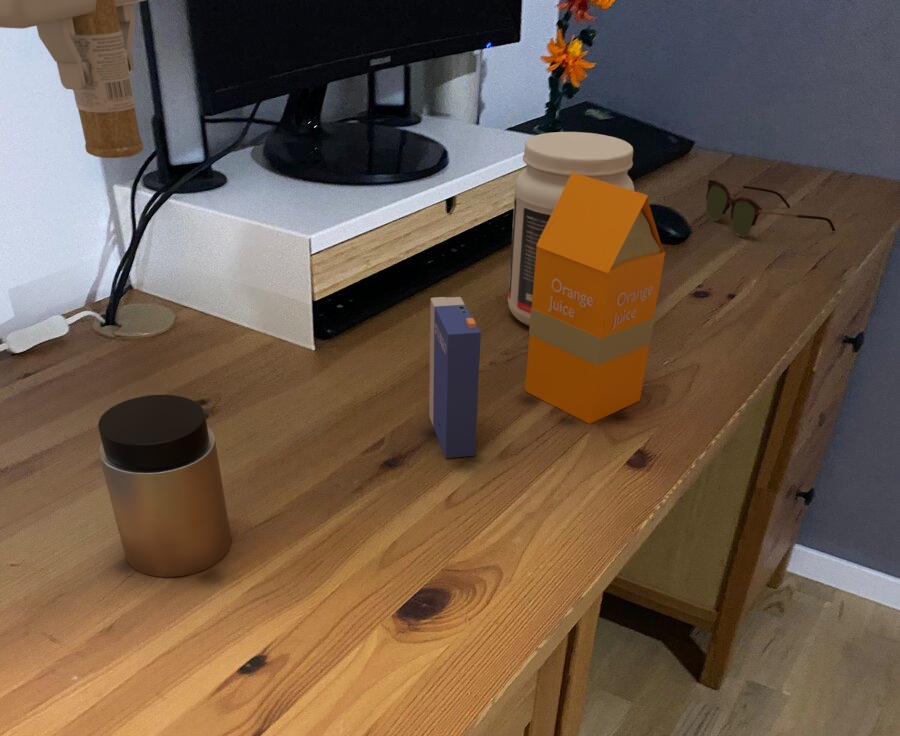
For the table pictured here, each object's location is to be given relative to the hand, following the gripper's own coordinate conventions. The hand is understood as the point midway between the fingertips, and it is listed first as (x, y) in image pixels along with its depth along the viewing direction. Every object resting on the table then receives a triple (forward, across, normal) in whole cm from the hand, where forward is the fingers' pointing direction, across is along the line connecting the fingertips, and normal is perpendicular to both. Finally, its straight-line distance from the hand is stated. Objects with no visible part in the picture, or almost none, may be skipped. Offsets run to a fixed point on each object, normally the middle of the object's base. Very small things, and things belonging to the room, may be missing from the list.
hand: (99, 80), depth 70 cm
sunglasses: (+28, -78, +54) cm, 99 cm away
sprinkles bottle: (+5, 0, 0) cm, 5 cm away
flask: (+28, +20, +13) cm, 36 cm away
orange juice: (+28, -15, +38) cm, 49 cm away
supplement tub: (+28, -34, +32) cm, 54 cm away
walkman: (+28, -3, +28) cm, 39 cm away
